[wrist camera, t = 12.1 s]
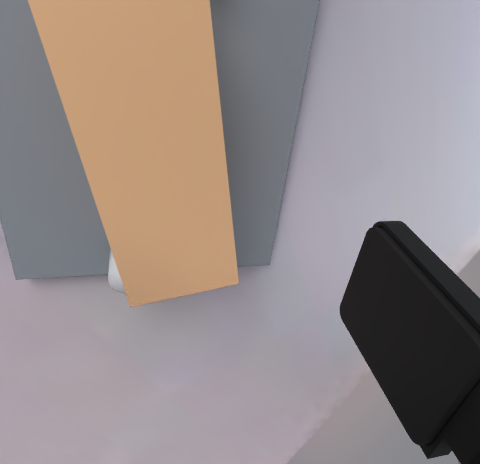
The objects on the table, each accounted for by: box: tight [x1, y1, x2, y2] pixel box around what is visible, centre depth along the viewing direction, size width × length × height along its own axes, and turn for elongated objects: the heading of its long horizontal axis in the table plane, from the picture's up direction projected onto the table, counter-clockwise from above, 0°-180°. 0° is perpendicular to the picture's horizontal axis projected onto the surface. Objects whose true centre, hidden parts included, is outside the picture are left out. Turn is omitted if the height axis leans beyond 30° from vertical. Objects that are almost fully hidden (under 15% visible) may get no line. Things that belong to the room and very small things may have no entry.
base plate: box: [0, 0, 320, 293], centre depth 20 cm, size 20×16×4 cm
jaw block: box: [28, 0, 239, 307], centre depth 17 cm, size 12×5×7 cm, turn 5°
